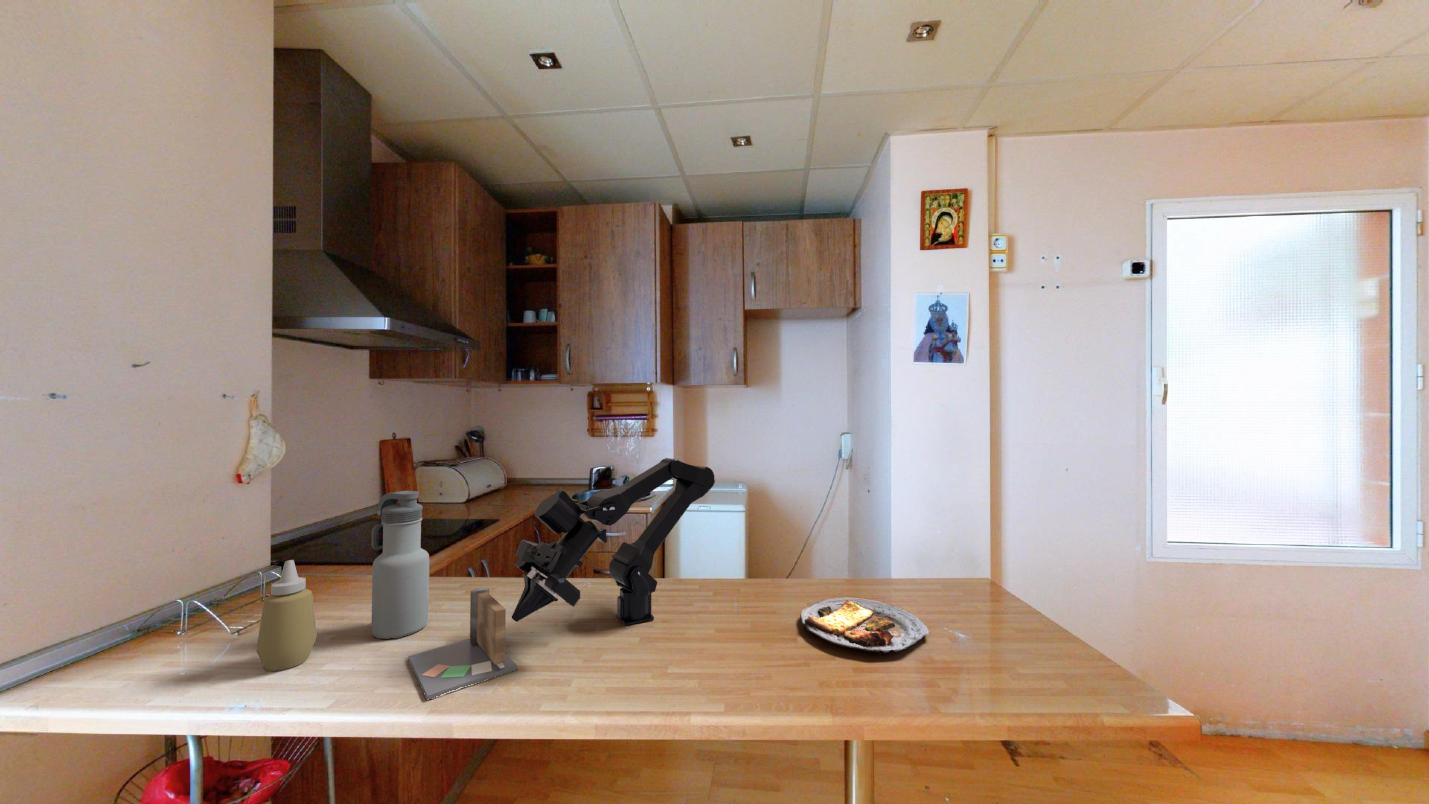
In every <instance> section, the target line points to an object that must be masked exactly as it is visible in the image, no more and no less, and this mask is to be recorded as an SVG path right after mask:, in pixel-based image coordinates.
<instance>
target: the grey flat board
mask: <svg viewBox="0 0 1429 804" xmlns="http://www.w3.org/2000/svg"><path fill="white" fill-rule="evenodd" d="M407 658H408V659H407V660H408V663H409V665H410V666H411V669H412V672H413V673H414V675H415V677H416V680H417V682H418V683H419V686H420V688H421V687H422V688H421V691H422V692H423V694H424V693H425V695H424V696H426V697H425V699H426V698H427V699H426V700H428V699H432V698H434V697H436V696H440V695H441V694H444V693H447V692H449V691H452V690H456V689H458V688H460V687H465V686H468V685H471V684H475V683H478V682H481V681H484V680H486V679H490V680H492V679H494V678H493V677H495V676H498V677H500V676H499V675H501V676H504V675H506V673H507V674H509V672H510V673H513V672H515V671H517V670H518V665H517V663H516V662H515V661H514V660H513V659H512V658H511V657H510V655H508V654H507V652H506V651H505V662H503V664H504V668H501V669H500V668H499V667H498V666H497V665H495V664H494V663H493V662H492V660H491V659H490V658H489V657H488V655H487V654H486V653H485V652H484V650H483V649H482V648H481V647H480V646H479V644H477V645H473V644H470V638H467V639H464V640H460V641H455V642H453V643H449V644H445V645H443V646H439V647H435V648H431V649H428V650H425V651H421V652H417V653H414V654H411V655H408V656H407ZM512 671H513V672H512ZM503 674H504V675H503ZM491 678H492V679H491ZM495 678H496V677H495ZM484 682H485V681H484ZM481 683H482V682H481ZM478 684H479V683H478ZM475 685H476V684H475ZM432 700H433V699H432Z"/></svg>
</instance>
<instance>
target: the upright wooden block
mask: <svg viewBox="0 0 1429 804" xmlns="http://www.w3.org/2000/svg"><path fill="white" fill-rule="evenodd" d="M469 600H470V601H469V602H470V604H469V605H470V607H469V608H470V611H469V612H470V613H469V615H470V617H469V639H470V644H473V645H477V644H479V646H480V647H481V648H482V649H483V650H484V652H485V653H486V654H487V655H488V657H489V658H490V659H491V660H492V662H493V663H494V664H495V665H497V666H498V667H499V668H500V669H501V668H504V664H503V662H505V652H506V619H507V618H506V617H507V616H506V614H507V613H506V612H507V611H506V610H507V609H506V608H505V607H504V606H503V605H502V604H501V603H500V602H499V601H497V599H495V598H494V597H493V596H492V594H490V588H489V587H477V588H474V589H472V590H470V599H469Z"/></svg>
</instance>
